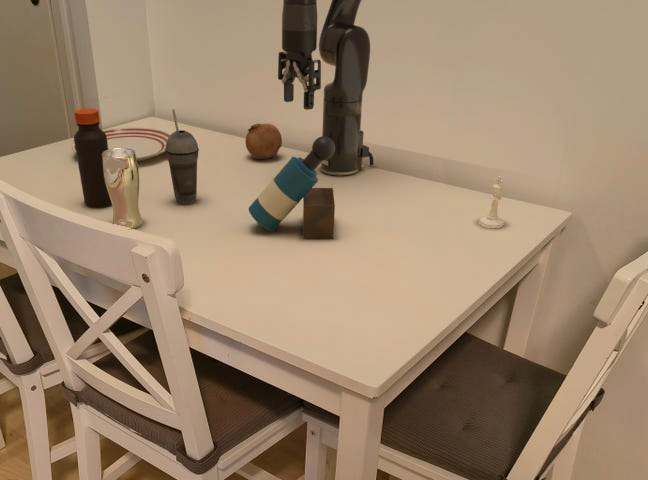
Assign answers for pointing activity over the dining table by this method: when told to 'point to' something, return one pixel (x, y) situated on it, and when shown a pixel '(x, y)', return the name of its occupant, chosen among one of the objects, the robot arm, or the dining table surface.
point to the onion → (263, 141)
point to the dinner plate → (137, 141)
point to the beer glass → (122, 185)
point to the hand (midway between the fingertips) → (298, 105)
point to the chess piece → (494, 208)
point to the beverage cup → (183, 164)
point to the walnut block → (318, 214)
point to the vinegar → (91, 157)
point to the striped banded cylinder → (290, 185)
